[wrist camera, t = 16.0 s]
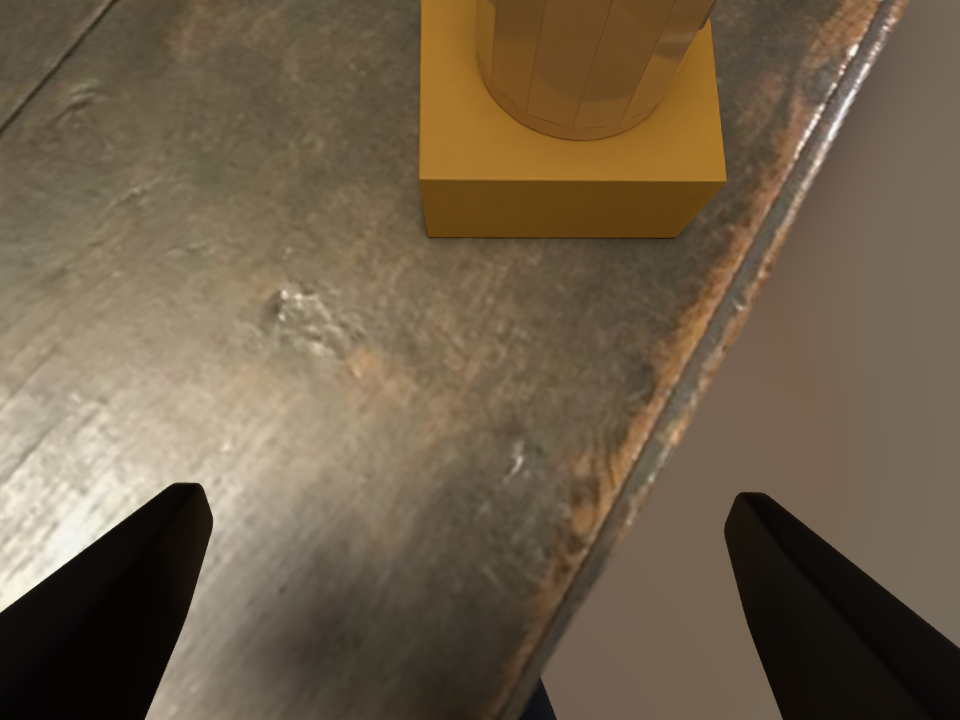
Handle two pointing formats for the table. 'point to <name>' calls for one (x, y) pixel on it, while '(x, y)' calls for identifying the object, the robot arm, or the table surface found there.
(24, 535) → the table surface
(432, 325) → the table surface
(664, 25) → the hollow tan tube
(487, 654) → the table surface
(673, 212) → the box
